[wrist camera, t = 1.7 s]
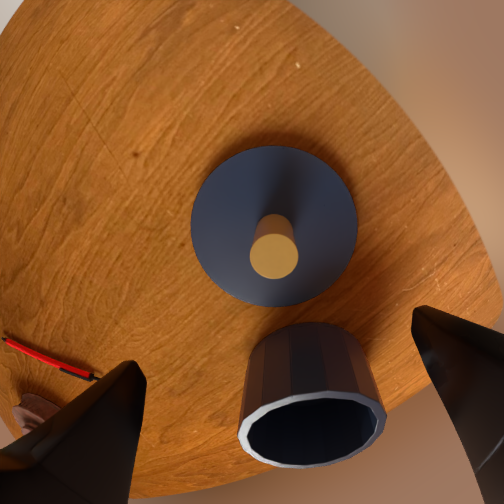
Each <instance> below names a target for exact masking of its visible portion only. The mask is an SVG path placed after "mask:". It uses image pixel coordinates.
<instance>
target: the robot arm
mask: <svg viewBox="0 0 504 504" xmlns="http://www.w3.org/2000/svg"><path fill="white" fill-rule="evenodd" d="M411 333H412V337H413V339H414V341H415V344H416V346H417V348H418V351H419V353H420V356H421V358H422V361H423V363H424V366H425V368H426V370H427V373H428V375H429V377H430V379H431V381H432V382H433V384H434V386H435V388H436V390H437V392H438V394H439V396H440V398H441V400H442V402H443V404H444V406H445V408H446V410H447V412H448V414H449V416H450V418H451V420H452V422H453V424H454V427H455V429H456V431H457V433H458V435H459V438H460V440H461V442H462V445H463V447H464V449H465V452H466V454H467V456H468V459H469V461H470V464H471V466H472V469H473V472H474V473H475V477H476V480H477V483H478V485H479V488H480V491H481V494H482V497H483V500H484V503H485V504H504V334H502V333H499V332H497V331H494V330H492V329H489V328H486V327H484V326H481V325H478V324H476V323H473V322H470V321H468V320H465V319H462V318H460V317H457V316H454V315H452V314H449V313H446V312H443V311H441V310H438V309H435V308H433V307H430V306H427V305H422V306H419V307H416V308H414V310H413V314H412V325H411ZM146 387H147V380H146V377H145V375H144V374H143V372H142V370H141V369H140V367H139V365H138V364H137V362H136V361H134V360H128V361H123V362H122V363H120V364H119V365H118V366H117V367H115V368H114V369H113V370H111V371H110V372H109V373H107V374H106V375H105V376H104V377H102V378H101V379H100V380H98V381H97V382H96V383H94V384H93V385H92V386H90V387H89V388H88V389H87V390H85V391H84V392H83V393H81V394H80V395H79V396H77V397H76V398H75V399H73V400H72V401H71V402H70V403H68V404H67V405H66V406H64V407H63V408H62V409H60V410H59V411H58V412H56V413H55V414H54V416H51V417H50V418H48V419H47V420H46V421H44V422H43V423H42V424H40V425H39V426H37V427H36V428H35V429H33V430H32V431H30V432H29V433H27V434H26V435H24V436H22V437H21V438H19V439H18V440H16V441H14V442H13V443H11V444H10V445H8V446H6V447H5V448H3V449H0V504H128V498H129V492H130V486H131V479H132V474H133V468H134V462H135V457H136V452H137V447H138V442H139V437H140V432H141V427H142V422H143V414H144V405H145V396H146Z"/></svg>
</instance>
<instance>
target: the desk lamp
mask: <svg viewBox="0 0 504 504" xmlns="http://www.w3.org/2000/svg"><path fill="white" fill-rule="evenodd" d="M21 401H22V403H20V404H19V405H17V406H13V410H12V413H13V415H14V417H15V420H16V421H17V423H18V424H19V425H20V427H21V428H22V430H21V431H22V433H23V435H26V434H27V433H29V432H30V431H32V430H33V429H35V428H36V427H37V426H39V425H40V424H42V423H43V422H44V421H46V420H47V419H48V418H50V417H51V416H54V414H55V413H56V412H58V411H59V410H60V409H61V408H60V407H58V406H57V405H55V404H54V403H52V402H50V401H48V400H46V399H44V398H42V397H40V396H38V395H35V394H31V393H26V394H23V395H22V400H21Z"/></svg>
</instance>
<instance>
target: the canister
mask: <svg viewBox="0 0 504 504" xmlns="http://www.w3.org/2000/svg"><path fill="white" fill-rule="evenodd" d="M386 418H387V414H386V411H385V408H384V405H383V402H382V399H381V396H380V393H379V391H378V388H377V385H376V382H375V379H374V376H373V374H372V371H371V368H370V366H369V363H368V360H367V357H366V355H365V353H364V351H363V349H362V347H361V345H360V343H359V342H358V340H357V339H356V338H355V337H354V336H353V335H352V334H351V333H349V332H348V331H346V330H344V329H343V328H340V327H338V326H335V325H331V324H327V323H320V322H308V323H299V324H294V325H291V326H287V327H284V328H282V329H279V330H277V331H275V332H273V333H272V334H270V335H269V336H267V337H266V338H264V339H263V340H262V341H261V342H260V343H259V344H258V345H257V346H256V348H255V349H254V350H253V352H252V354H251V356H250V358H249V362H248V367H247V370H246V376H245V383H244V390H243V397H242V404H241V411H240V418H239V425H238V432H237V437H238V439H239V441H240V444H241V446H242V448H243V450H244V451H246V452H247V453H248V454H250V455H251V456H253V457H254V458H255V459H257V460H258V461H261V462H264V463H268V464H271V465H274V466H277V467H286V468H301V469H302V468H312V467H320V466H327V465H331V464H334V463H337V462H340V461H343V460H346V459H349V458H351V457H353V456H354V455H356V454H358V453H360V452H361V451H363V450H365V449H366V448H368V447H369V446H370V445H372V444H373V442H374V441H375V440H376V439H377V438H378V437H379V436H380V435H381V434H382V432H383V430H384V426H385V422H386Z"/></svg>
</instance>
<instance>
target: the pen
mask: <svg viewBox="0 0 504 504" xmlns="http://www.w3.org/2000/svg"><path fill="white" fill-rule="evenodd" d="M2 340H3V341H4V342H5V343H6V344H8V345H10V346H12V347H14V348H15V349H17V350H19V351H21V352H23V353H25V354H28V355H30V356H32V357H34V358H36V359H38V360H40V361H43V362H45V363H47V364H49V365H52V366H54V367H57V368H59V370H60V371H63V372H65V373H68V374H70V375H73V376H75V377H78V378H81V379H83V380H86V381H89V382H91V381H93V380H97V381H98V380H100V379H101V378H98V377H95V376H94V374H92V373H89V372H86V371H84V370H81V369H78V368H75V367H73V366H70V365H67V364H65V363H62V362H60V361H57V360H55V359H52V358H50V357H47V356H45V355H43V354H40V353H38V352H36V351H34V350H31V349H29V348H27V347H25V346H23V345H21V344H19V343H17V342H15V341H13V340H11V339H9V338H3V337H2Z"/></svg>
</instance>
